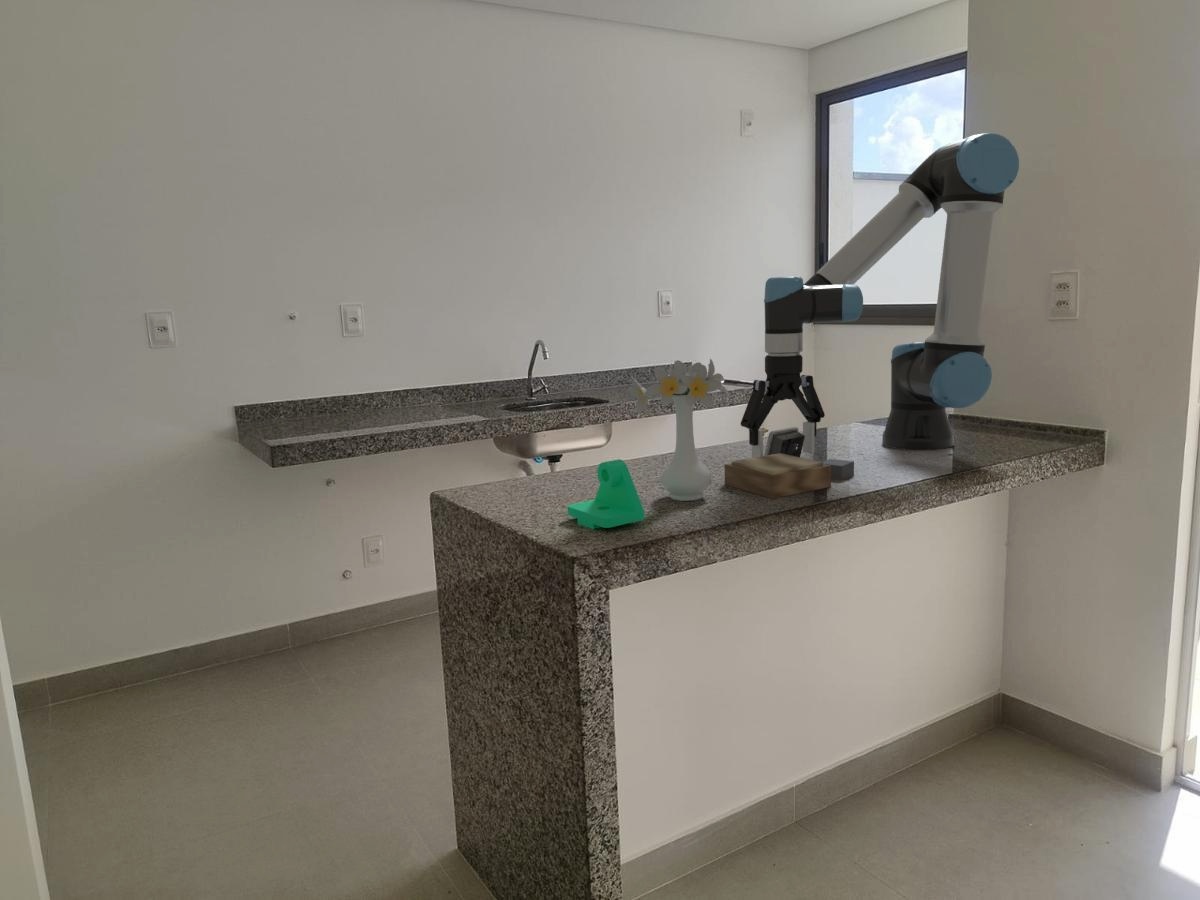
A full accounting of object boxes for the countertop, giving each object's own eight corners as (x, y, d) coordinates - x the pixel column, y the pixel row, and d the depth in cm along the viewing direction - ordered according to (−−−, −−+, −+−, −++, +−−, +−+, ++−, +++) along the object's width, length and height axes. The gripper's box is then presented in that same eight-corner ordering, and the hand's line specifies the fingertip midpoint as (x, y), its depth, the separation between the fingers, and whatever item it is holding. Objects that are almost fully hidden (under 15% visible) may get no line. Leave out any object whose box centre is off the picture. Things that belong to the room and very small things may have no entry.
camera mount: (565, 520, 147) (562, 461, 145) (602, 512, 151) (599, 454, 149) (606, 535, 137) (603, 471, 135) (644, 525, 141) (642, 464, 139)
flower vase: (623, 499, 159) (617, 363, 154) (705, 484, 167) (702, 355, 162) (661, 513, 147) (656, 367, 143) (747, 497, 156) (745, 358, 151)
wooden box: (781, 474, 173) (781, 451, 172) (831, 486, 161) (831, 462, 160) (724, 484, 166) (724, 461, 165) (772, 498, 154) (771, 473, 153)
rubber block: (830, 473, 172) (830, 458, 172) (853, 476, 169) (854, 461, 169) (818, 478, 169) (818, 463, 168) (842, 481, 166) (842, 466, 165)
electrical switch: (788, 462, 184) (790, 424, 181) (805, 467, 180) (808, 429, 178) (761, 469, 179) (763, 430, 177) (777, 474, 175) (780, 435, 173)
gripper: (817, 349, 184) (816, 446, 188) (722, 357, 172) (723, 461, 176) (842, 350, 177) (841, 451, 181) (746, 359, 166) (746, 467, 170)
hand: (783, 456), depth 179 cm, fingers open, 13 cm apart
